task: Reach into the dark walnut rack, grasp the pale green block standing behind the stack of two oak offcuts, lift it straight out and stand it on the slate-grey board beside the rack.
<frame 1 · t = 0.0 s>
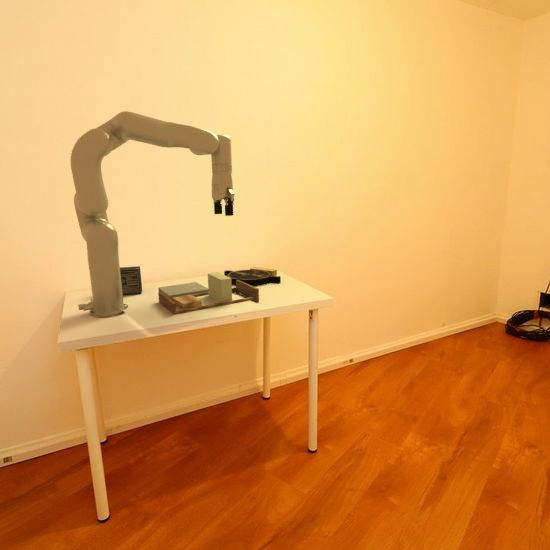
hand: (223, 214, 150), 31 cm above the table, tool pointing down, fingers open, 9 cm apart
grey board: (183, 294, 154), on the table
decorative sign: (252, 280, 177), on the table
pale green block: (220, 301, 144), on the table
small box: (128, 293, 156), on the table
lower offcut: (187, 309, 137), on the table, touching upper offcut
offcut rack: (210, 303, 142), on the table
upper offcut: (186, 304, 137), point 1 cm above the table, touching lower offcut
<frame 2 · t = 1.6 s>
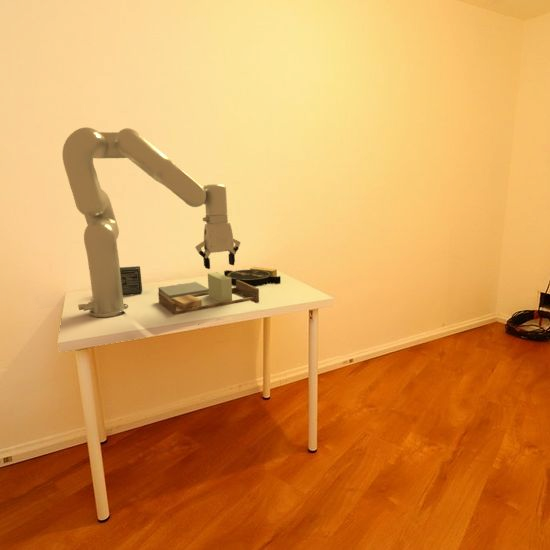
hand: (219, 266, 141), 13 cm above the table, tool pointing down, fingers open, 9 cm apart
nothing on the table moved.
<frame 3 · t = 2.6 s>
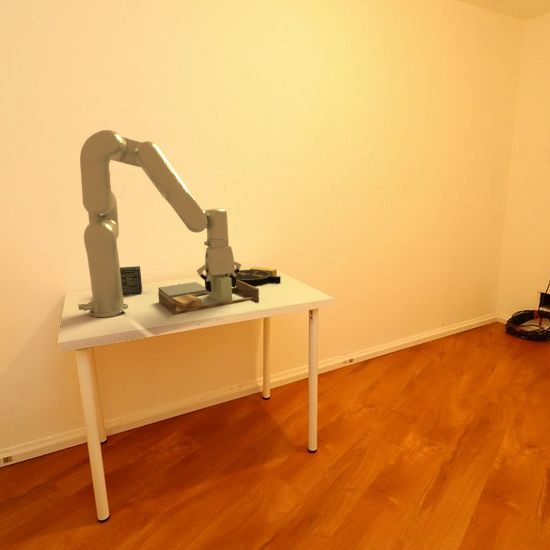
hand: (220, 288, 143), 5 cm above the table, tool pointing down, fingers open, 9 cm apart
nothing on the table moved.
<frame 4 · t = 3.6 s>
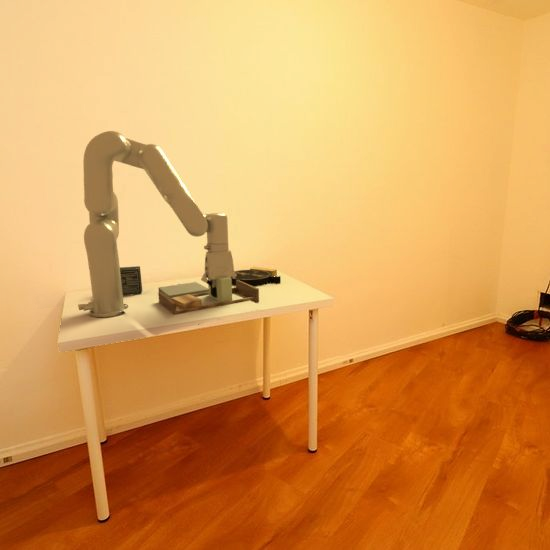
hand: (220, 295, 143), 2 cm above the table, tool pointing down, fingers closed on pale green block, 4 cm apart
pale green block: (220, 301, 144), on the table, touching gripper
everything else where it was.
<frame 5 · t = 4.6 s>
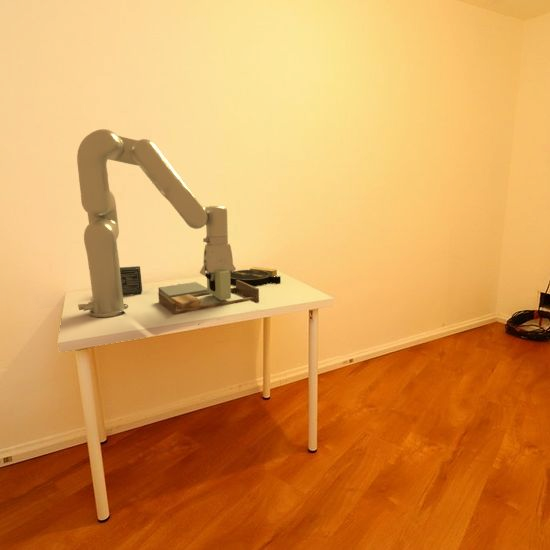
hand: (218, 289, 143), 5 cm above the table, tool pointing down, fingers closed on pale green block, 4 cm apart
pale green block: (218, 295, 143), point 2 cm above the table, touching gripper
everything else where it was.
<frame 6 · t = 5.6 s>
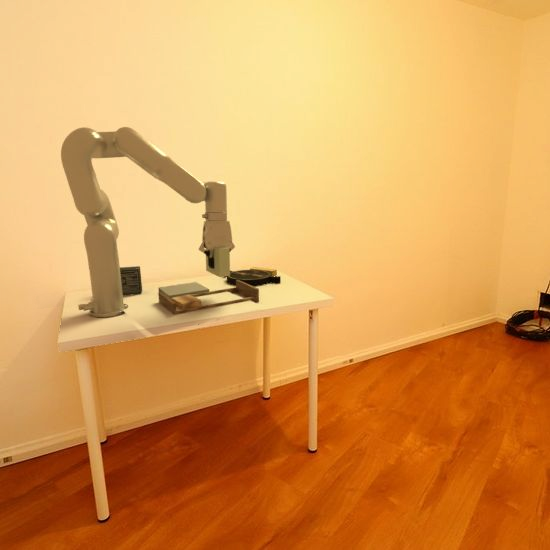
hand: (217, 266, 141), 13 cm above the table, tool pointing down, fingers closed on pale green block, 4 cm apart
pale green block: (217, 273, 141), point 11 cm above the table, touching gripper
everything else where it was.
when the fingers open (6 cm above the table, at t = 10.7 s): pale green block drops 1 cm, resting on grey board.
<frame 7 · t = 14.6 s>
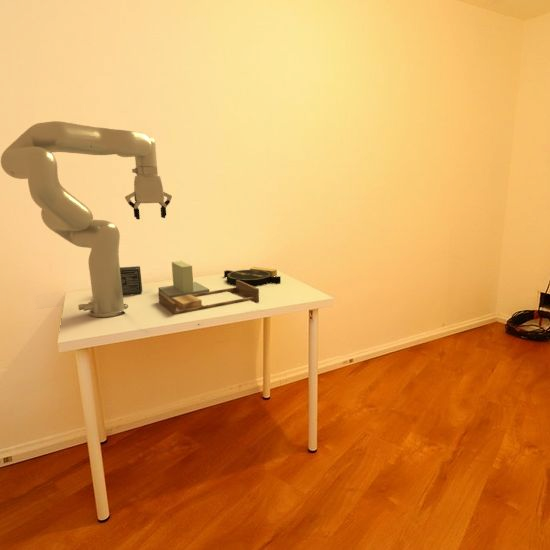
hand: (150, 218, 147), 30 cm above the table, tool pointing down, fingers open, 9 cm apart
pale green block: (183, 288, 153), point 2 cm above the table, touching grey board
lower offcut: (187, 309, 137), on the table
upper offcut: (186, 304, 136), point 1 cm above the table
everything else where it was.
at the end: pale green block inside the target area on the grey board (0.1 cm from its centre), point 2.5 cm above the grey board's base; pale green block tilted 0°; the gripper is holding nothing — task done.
